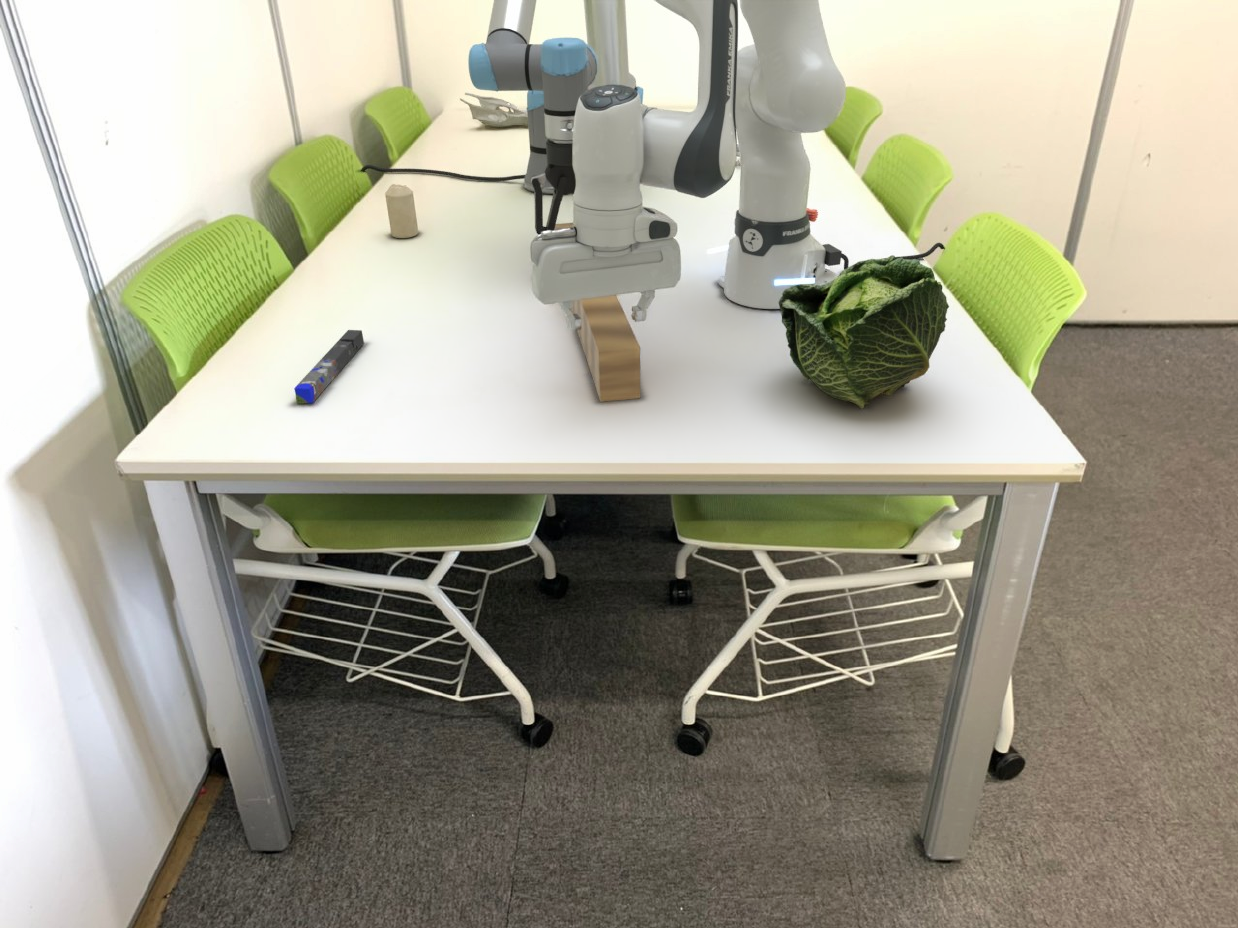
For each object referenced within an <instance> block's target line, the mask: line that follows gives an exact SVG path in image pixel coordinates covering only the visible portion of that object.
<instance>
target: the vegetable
mask: <svg viewBox="0 0 1238 928" xmlns="http://www.w3.org/2000/svg"><path fill="white" fill-rule="evenodd" d="M895 257H896V256H895V255H893V254H892V255H890V256H888V257H885V258H886V259H883V258H869V259H865V260H859V261H858V262H856V263H854V264H852V265H850V266H848V268H847V269H845V270H844V269H843V270H842V271H841V272H840V273H839V274H838V275H837V277H836V278H835V279H834V280H833V281H831V282H828V283H826V284H823V285H813V284H807V285H806V284H798V285H795V286H791V287H790V288H788V289H786V290H784V291H783V293H782V295H783V296H782V297H781V298H780V300H779V306H780V309H779V310H780V314H781V315H780V316H781V323H782V325H783V326H784V327H785V329H786V331H785V337H786V340H787V341H786V342H787V343H788V344H787V347H788V348H789V350H790V351H789V356H790V359H791V361H792V362H793V364H794V365H795V366H796V368H797V369H798V371H799V372H800V374H801V375H802V376H803V377H804V378H805V379H806V380H807V381H810V380H811V381H812V382H813V383H814V385H815V386H816V387H817V388H819V390H820V391H822V392H824V393H825V394H827V395H828V396H830V397H832V398H833V399H836V400H841V401H843V402H844V401H845V402H849V403H850V402H851V403H852V404H855V405H857V407H859V408H860V409H862V410H863V409H864V407H865V405H869V402H868V401H869V400H873V399H874V398H875V397H877V396H879V395H880V394H884V395H887V396H892V395H893V394H894V393H895V392H896V391H897V390H898V389H899V388H904V387H905V385H907V384H910V383H911V382H912V381H914V380H916V379H919V378H920V377H922V376H924V375H925V374H926V373H927V372H928V370H929V368H930V359H931V357H932V355H933V353H934V351H935V349H936V347H937V345H938V343H939V341H940V338H941V334H942V333H943V332H945V331H946V321H947V320H948V318H947V313H948V309H949V308H950V305H949V303H948V302H947V300H948V299H947V295H946V294H945V293H944V292H943V285H942V283H941V281H938V280H937V279H936V277H935V273H934V271H933V269H932V267H929V266H927V265H924V264H921V262H920V259H913V260H908V259H903V258H902V257H901V256H900V257H901V258H898V259H896V260H894V258H895Z"/></svg>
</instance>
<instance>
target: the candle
mask: <svg viewBox="0 0 1238 928" xmlns="http://www.w3.org/2000/svg"><path fill="white" fill-rule="evenodd" d="M384 196H385V203H386V208H387V209H386V210H387V215H388V222H389V228H390V234H391V236H392V237H394V238H398V239H407V238H408V239H409V238H412V237H416V236H417V235H418V234H419V226H418V221H417V220H418V219H417V211H416V205H415V197H414V191H413V190H412V189H411V188H410V187H409V186H407V185H402V184H394V183H392V184H391V185H390V186H389V187H388V188H387V190H386V191H385V193H384Z"/></svg>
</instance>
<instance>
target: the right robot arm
mask: <svg viewBox="0 0 1238 928" xmlns="http://www.w3.org/2000/svg"><path fill="white" fill-rule="evenodd" d="M653 1H654V2H656V3H657V4H659V5H660V6H662V7H663V8H665V9H667V10H669V11H671V12H672V13H674V14H676V15H678V16H679V17H681V18H683V19H685V20H686V21H688V22H689V23H690V24H691V25H692V26H693V28H694V29H695V31H696V34H697V37H698V45H699V47H698V48H699V49H698V51H699V52H698V80H697V81H698V82H697V103H696V107H695V108H694V109H693V110H692V111H682V110H673V109H664V108H657V107H653V106H648V105H646V104H643V102H642V103H641V101H640V96H639V93H638V92H637V91H636V90H635V89H633V88H631V87H628V86H624V85H605V86H597V87H594V88H591V89H589V90H587V91H586V92H584V93H583V94H582V95H581V96H580V97H579V99H578V103H577V107H576V112H575V119H574V128H573V147H572V164H573V170H574V173H575V178H576V187H575V191H574V194H572V195H573V196H572V223H573V228H564V229H559V230H553V231H552V230H545V231H542V232H541V234H540V235H538V234H537V235H536V236H535V237H534V238H533V239H532V240H531V242H530V247H529V250H530V260H531V262H532V268H531V292H532V295H533V296H534V297H535V299H537V301H539V302H540V303H541V304H543V305H550V304H551V305H553V304H557V305H558V306H559V307H560V309H561V310H562V312H563V313H564V315H565V316H566V327H567V329H568V331H570V332H576V331H577V330H581V318H580V317H579V316H578V315H577V314H572V312H571V310H570V308H573V301H575V300H583V299H590V298H598V297H605V296H613V295H617V296H619V295H620V296H621V295H626V294H633V293H640V294H641V296H640V298H639V300H638V302H637V304H636V305H632V306H631V320H633V321H634V322H635V323H639V322H645V321H646V320H647V310H648V309H649V307H650V306H651V304H652V302H653V301H654V299H655V296H656V291H657V290H664V289H672V288H675V287H676V286H677V285H678V284H679V282H680V280H681V277H682V255H681V247H680V244H679V242H678V240H677V239H676V236H677V234H678V223H677V222H676V221H675V220H674V219H672V218H671V217H670V216H668V215H667V214H666V213H663V212H662V211H660V210H658V209H655V208H652V207H647V206H643V202H644V201H643V194H642V190H641V185H642V186H644V187H651V188H658V189H665V190H670V191H671V190H672V191H677V192H678V193H680V194H685V195H689V196H693V197H696V198H700V199H706V198H707V197H709V196H712V195H713V194H715V193H717V192H718V191H719V190H721V189H722V188H724V187H725V186H726V185H727V183H729V182H730V181H731V180H732V178H733V176H734V173H735V169H736V164H737V157H738V156H737V144H738V145H739V152H740V157H739V163H740V164H739V165H740V175H739V195H738V196H739V197H738V198H739V199H738V209H737V210H736V211H735V218H734V222H733V223H734V234H735V236H733V237H732V238H731V239H730V240H729V242H728V245H727V244H726V245H723V246H719V247H713V248H709V249H707V254H708V255H709V254H716V253H719V252H724V251H727V252H726V253H727V255H726V262H725V269H724V275H721V276H719V278H718V285H719V286H720V287H721V288H722V289H723V294H724V296H725V297H726V298H727V299H728V300H730V301H731V302H733V303H735V304H738V305H741V306H745V307H749V308H754V309H763V310H780V306H779V300H780V298H781V297H782V296H783V295H782V293H783V291H784V290H786V289H788V288H790V287H791V286H795V285H798V284H806V285H807V284H813V285H823V284H826V283H828V282H831V281H833V280H834V279H835V278H836V277H838V274H837V273H836V272H834V271H833V270H831V269H828V268H826V266H828V267H831V266H840V265H841V261H842V260H843V270H845V269H847V268H848V267H849V264H850V261H849V258H848V256H847V255H846V254H845V253H842V252H843V251H842V250H840V249H839V248H837V247H835V246H834V245H832V244H830V243H823V244H821V242H819V240H817V239H816V238H815V237H814V236H813V235H812V234H811V223H815V222H816V221H817V219H818V215H819V211H818V210H817V209H815V208H814V209H813V208H809V207H808V200H809V199H808V198H809V189H810V179H811V169H812V168H811V163H810V159H809V156H808V154H807V152H806V149H805V146H804V141H803V137H802V134H814V133H818V132H821V131H824V130H825V129H827V128H830V126H831V125H832V124H834V123H835V122H836V120H837V119H838V118H839V116H840V115H841V113H842V111H843V109H844V106H845V102H846V97H847V87H846V81H845V78H844V76H843V75H842V73H841V72H840V69H839V68H838V66H837V64H836V63H835V60H834V58H833V55H832V53H831V50H830V45H829V43H828V39H827V33H826V30H825V25H824V22H823V18H822V13H821V7H820V2H819V0H739V2H738V0H653ZM739 7H740V11H741V14H742V16H743V18H744V20H745V21H746V22H747V25H748V27H749V28H748V29H749V31H750V33H751V37H752V40H753V44H750V45H746V46H744V47H742V48H740V49H739V48H738V47H739V46H738V45H739ZM738 49H739V50H738ZM938 248H940V250H945V249H946V247H945V246H944V244H943V243H941V242H936V243H935V244H933V246H932V247H930V248H929V250H927V251H926V252H923V253H920V254H914V255H912V254H911V255H902V256H895V258H894V260H896V259H898V258H901V257H902V258H903V259H908V260H920V259H923V258H926V257H929V256H930V255H932V254H933V253H934V252H935V251H936V250H937V249H938ZM886 258H887V257H884V258H882V259H886Z"/></svg>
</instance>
